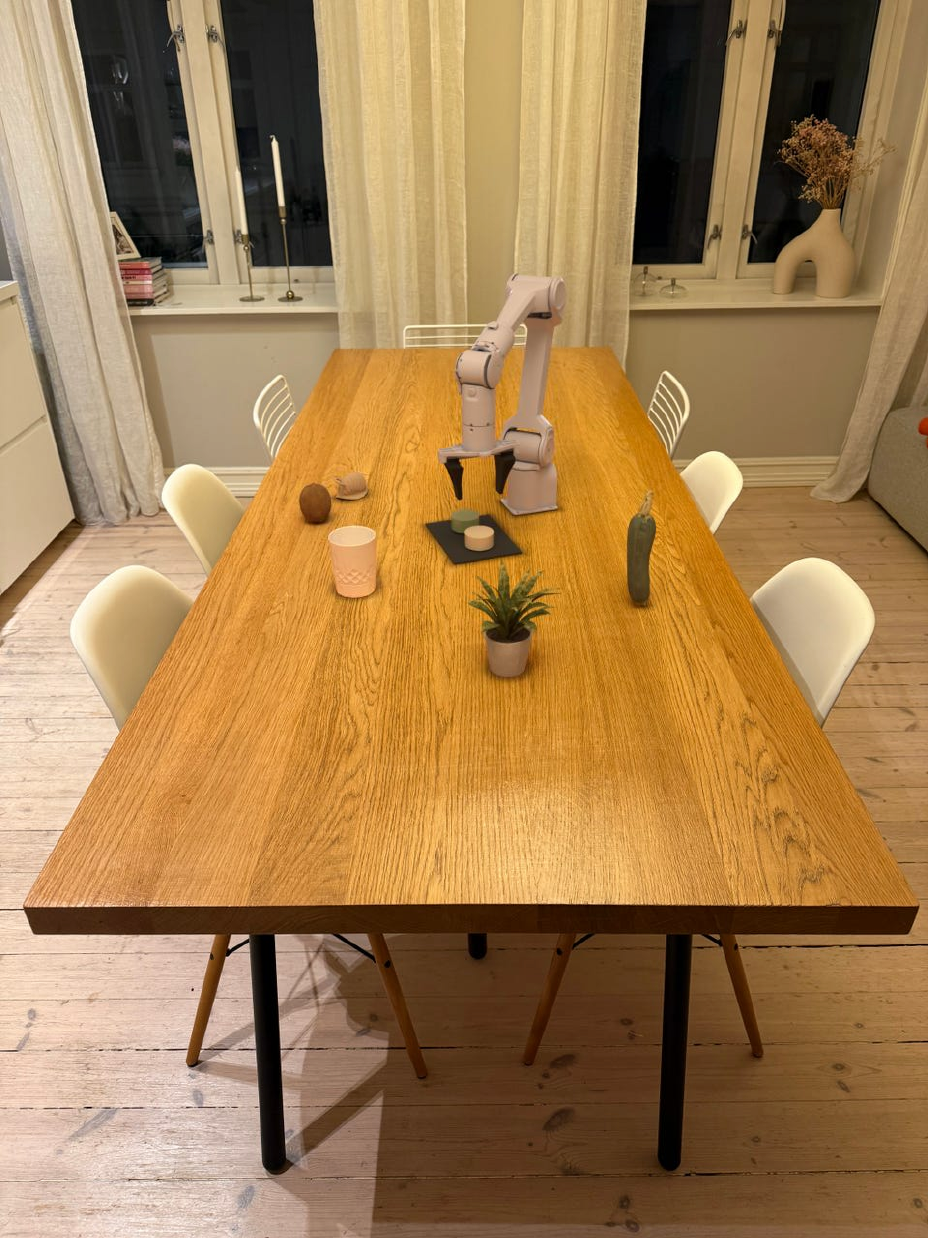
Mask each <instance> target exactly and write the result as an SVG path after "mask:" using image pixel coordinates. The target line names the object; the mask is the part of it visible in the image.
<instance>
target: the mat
mask: <svg viewBox="0 0 928 1238" xmlns="http://www.w3.org/2000/svg"><path fill="white" fill-rule="evenodd" d="M479 523H480V526H487V527H490V528H492V529H493V530H494V546H493V547H492V548H491V549H488V550H484V551H474V550H470V549H468V548H466V547H465V539H464V533H458V532H455V531H453V530H452V529H451V519H448V520H441V521H433V522H427V523H425V527H426V528H427V529H428V531H429V532H430V533H431V535H432V536H433V538H434V539H435V540H436V542H437V543H438V544H439V546H440V548H441V549H442V550H443V552H444V553H445V554H446V555H447V557H448V559H449V560H450V561H451V563H453V565H461V564H467V563H474V562H480V561H487V560H491V559H492V560H493V559H499V558H506V557H511V556H516V555H522V554H523V551H522V550H521V549H520V547H519V546H518V545H517V544H516V543H515V542H514V540H512V539H511V537H509V535H508V534H507V533H506V532H505V530H504V529H503V528H502V527H501V526H500V525H499V524H498V522H496V521H495V520H494V518H493V517H492V516H491V515H490V514H489V513H487V514H481V515H480V514H479Z"/></svg>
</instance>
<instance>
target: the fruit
mask: <svg viewBox="0 0 928 1238" xmlns="http://www.w3.org/2000/svg"><path fill="white" fill-rule="evenodd" d="M298 504H299V510H300V511H301V514H302V516H303V517H304V518H305V519H306V520H308V521H310V522H313V523H321V522H323V521H324V520H325V519H326V520H327V518H328V517H329V515H330V513H331V511H332V498H331V494H330V492H329V490H328V489H327V488H326V486H324V485H323V484H320V483H315V482H312V483H310V484H307V485H305V486H304V487H303V488H302V489H301V491H300V494H299V497H298Z"/></svg>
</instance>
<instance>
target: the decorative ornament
mask: <svg viewBox="0 0 928 1238" xmlns="http://www.w3.org/2000/svg"><path fill="white" fill-rule="evenodd" d="M333 481H334V482H335V483H336V484H337V485H338V487H337V494H336V496H335V497H334V498H335V499H342V500H347V501H348V500H349V501H350V500H351V501H355V500H356V501H358V500H360V499H363V498H364V497H365V496H366V495H367V494H368V492H369V490H368V488H367V487H368V486H367V479H366V477H365V476H364V474H363V473H361V472H359V471H354V472H353V471H352V472H350V473H348V474H346V475H344V477H342V478H340V477H337V476H335V477H333Z"/></svg>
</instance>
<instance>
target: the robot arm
mask: <svg viewBox="0 0 928 1238" xmlns="http://www.w3.org/2000/svg"><path fill="white" fill-rule="evenodd" d="M504 292H505V295H504V296H505V303H504V305H503V306H502V309H501V311H500V313H499V315H498V317H497V319H496V320H493V321H490V322H489V323H487V324H486V325H485V327H484V329H483V330H482V331H481V333H480V334H479V336H478V338H477V339H476V341H475V342H474V343H473V345H472V346H471V348H470V349H465V350H464V351H463V352H460V354H458V357H457V359H456V362H455V368H454V378H455V382H456V384H457V390H458V391H457V392H458V394H459V396H461V435H462V436H461V437H462V438H461V442H462V443H459V444H456V445H455V444H454V445H452V446H448V447H444V448H438V449H437V450H436V451H437V461H438V463H440V464H443V465H444V467H445V469H446V471H447V473H448V475H449V478H450V481H451V484H452V488H453V492H454V497H455V498H456V500H457V501H463V497H464V493H463V475H464V469H465V468H464V467H463V466H462V463H461V461H460V460H468V459H475V458H476V459H477V458H481V459H482V458H483V459H484V458H490V457H492V456H493V459H494V469H495V477H494V487H495V492H496V493H497V494H498V495H500V496H501V495H503V494H504V490H505V487H506V483H507V497H504V498H501V499H500V503H501V504H503V506H504V507H505V508H506V509H507V510H508V511H509V512H510V513H511V514H512V515H513V516H521V515H527V514H535V513H541V512H547V511H554V510H558V509H559V507H558V506H557V498H558V473H557V472H558V471H557V469H556V465H555V464H554V462H553V461H552V460H553V457H554V454H555V447H556V445H555V444H556V443H555V427H554V426H553V425H552V424H551V422H550V421H548V419H547V418H546V417H545V416H544V415H543V413H544V406H545V405H544V404H545V396H546V389H547V383H548V375H549V367H550V359H551V353H552V345H553V337H554V331H555V327H557V326H559V325H562V323H563V318H564V314H565V307H566V302H567V301H566V300H567V289H566V285H565V281H564V280H563V278H562V277H561V276H541V275H529V274H519V273H513V274H511V276H510V277H509V278H508V279H507V283H506V285H505V291H504ZM522 324H524V326H525V328H526V338H525V346H524V355H523V361H522V362H523V363H522V369H521V377H520V386H519V394H518V402H517V410H516V413H515V414H514V415H512V416H511V417H509V418H507V419H506V420H505V421H504V423H503V425H502V430H501V434H500V437H499V439H496V387H497V386H498V384H500V380H501V377H502V373H503V370H504V366H505V362H504V361H505V360H506V358H507V356H508V354H509V353H510V352H511V350H512V349H513V347H514V345H515V342H516V335H515V332H516V331H517V330H518V328H519V327H520V326H521V325H522ZM523 429H525V430H523Z"/></svg>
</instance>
